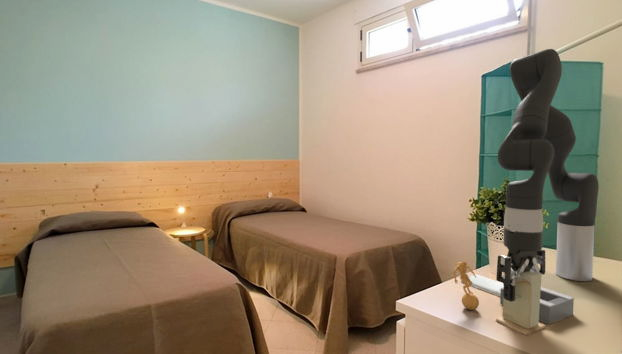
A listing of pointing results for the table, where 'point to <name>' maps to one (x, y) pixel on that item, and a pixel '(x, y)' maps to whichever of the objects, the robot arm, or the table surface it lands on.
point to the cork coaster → (520, 328)
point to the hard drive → (486, 284)
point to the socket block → (552, 305)
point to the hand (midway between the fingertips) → (520, 296)
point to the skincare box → (524, 300)
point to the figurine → (469, 298)
